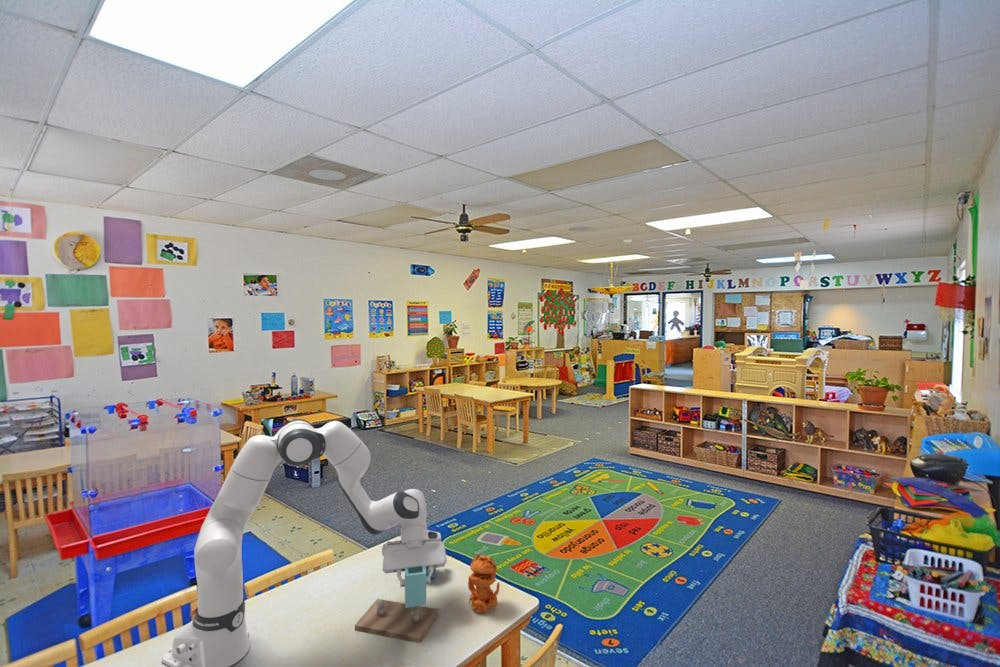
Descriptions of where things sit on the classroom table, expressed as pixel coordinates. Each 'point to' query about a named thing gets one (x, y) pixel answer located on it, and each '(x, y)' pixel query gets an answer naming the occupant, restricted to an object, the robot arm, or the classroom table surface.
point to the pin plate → (397, 620)
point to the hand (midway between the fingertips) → (415, 584)
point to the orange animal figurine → (483, 583)
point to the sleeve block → (415, 586)
